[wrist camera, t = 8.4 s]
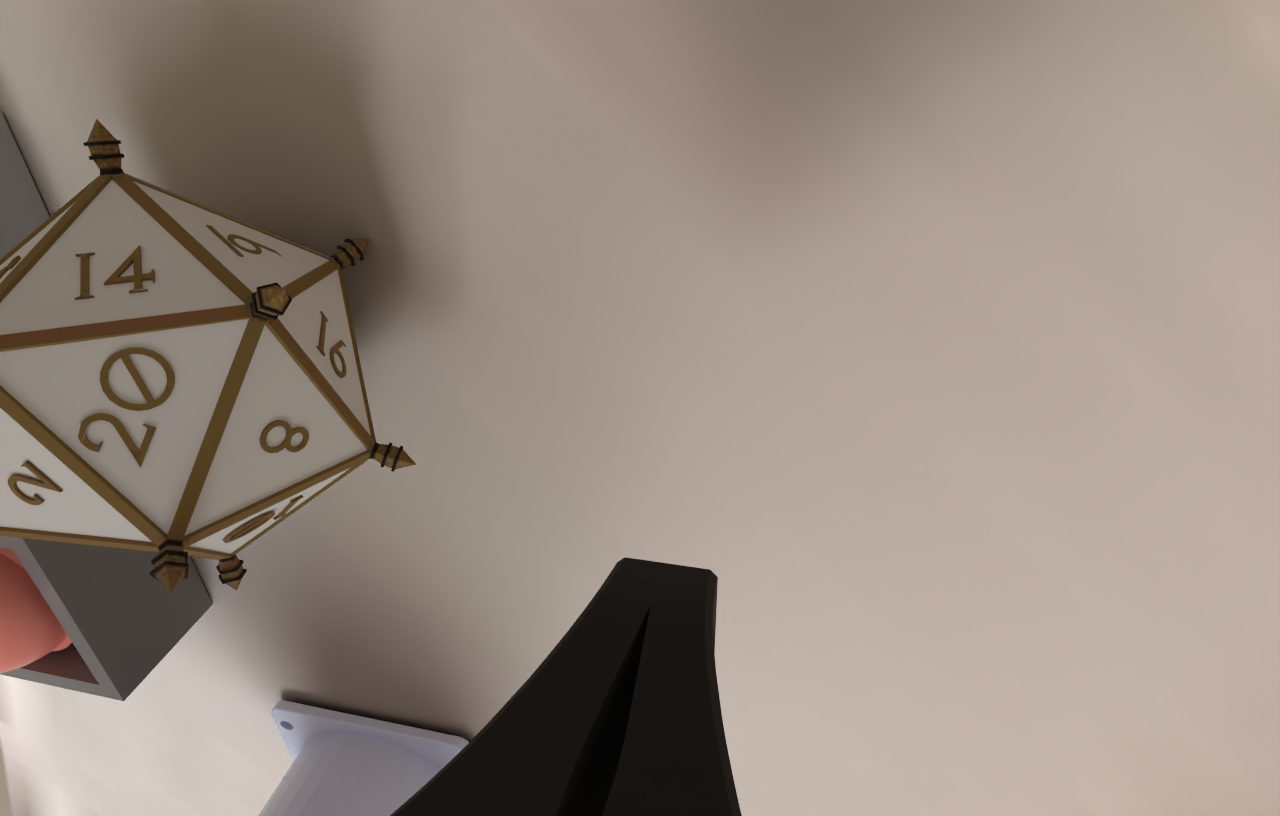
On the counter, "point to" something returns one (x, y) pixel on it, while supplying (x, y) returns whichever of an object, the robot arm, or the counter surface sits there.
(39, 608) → the dome
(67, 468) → the game die
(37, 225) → the bar
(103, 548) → the dome housing
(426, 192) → the counter surface
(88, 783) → the counter surface
